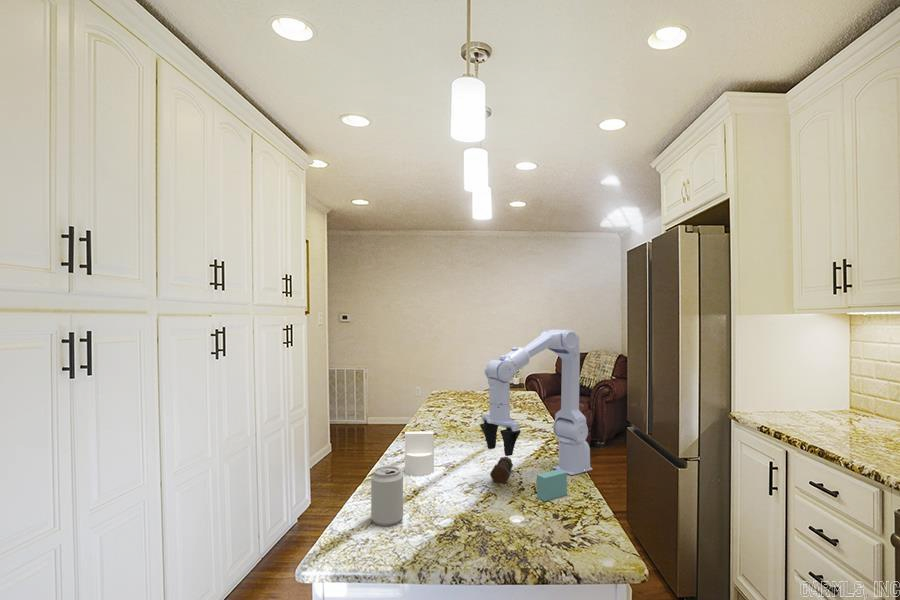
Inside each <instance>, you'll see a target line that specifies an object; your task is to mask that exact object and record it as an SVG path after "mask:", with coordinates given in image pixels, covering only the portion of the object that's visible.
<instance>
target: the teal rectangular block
mask: <svg viewBox="0 0 900 600" xmlns="http://www.w3.org/2000/svg"><path fill="white" fill-rule="evenodd" d="M535 483H536V498H537V499H538V500H541V501H543V502H547V501H551V500H555V499H557V498H561V497H565V496H567V495H568V474H567V472H565V471H562V470H559V469H557V470H556V469H554V470H550V471H547V472H542V473H539V474H536V479H535Z"/></svg>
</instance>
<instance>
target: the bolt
mask: <svg viewBox="0 0 900 600" xmlns="http://www.w3.org/2000/svg"><path fill="white" fill-rule="evenodd" d="M513 466H514V465H513V462H512V459H511V458H510V457H509V456H503V457H500V458H499V460H498V461H497V464H495V465H494V466H493V468H492V470H491V472H490V474H489V475H490V477H491V479H492V481H493V483H494V484H498V483H502V484H501V485H505V484H506V483H507V481H508V480H509V478H510V476H511V470H512V468H513ZM504 483H505V484H504Z"/></svg>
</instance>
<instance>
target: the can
mask: <svg viewBox="0 0 900 600" xmlns="http://www.w3.org/2000/svg"><path fill="white" fill-rule="evenodd" d="M370 480H371V481H370V483H371V484H370V485H371V486H370V487H371V488H370V491H371V492H370V494H371V495H370V496H371V497H370V499H371V500H370V502H371V504H370V510H371V511H370V513H371V514H370V515H371V516H370V517H371V520H372V521H373V522H374V523H375V524H376V525H378V526H382V527H389V526H393V525H396V524H398V523H400V521H401V520H402V519H403V517H404V475H403V473H401V469H400V468H399V467H398V466H396V465H395V466H393V465H383V466H379V467H376V468H375V469H374V470H373V474H372V475H371V477H370Z"/></svg>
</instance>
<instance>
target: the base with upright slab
mask: <svg viewBox="0 0 900 600" xmlns="http://www.w3.org/2000/svg"><path fill="white" fill-rule="evenodd" d="M434 435H435V434H434V431H433V430H426V431H425V430H423V431H422V430H420V431H419V430H418V431H405V432H404V473H405V474H406V475H407V474H408V475H407V476H410V475H412V476H411V477H418V476H419V477H425V476H424V475H427V476H430V475H432V474H433V473H434V472H435V444H434V443H435V438H434V437H435V436H434ZM431 473H432V474H431ZM429 474H430V475H429Z"/></svg>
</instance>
